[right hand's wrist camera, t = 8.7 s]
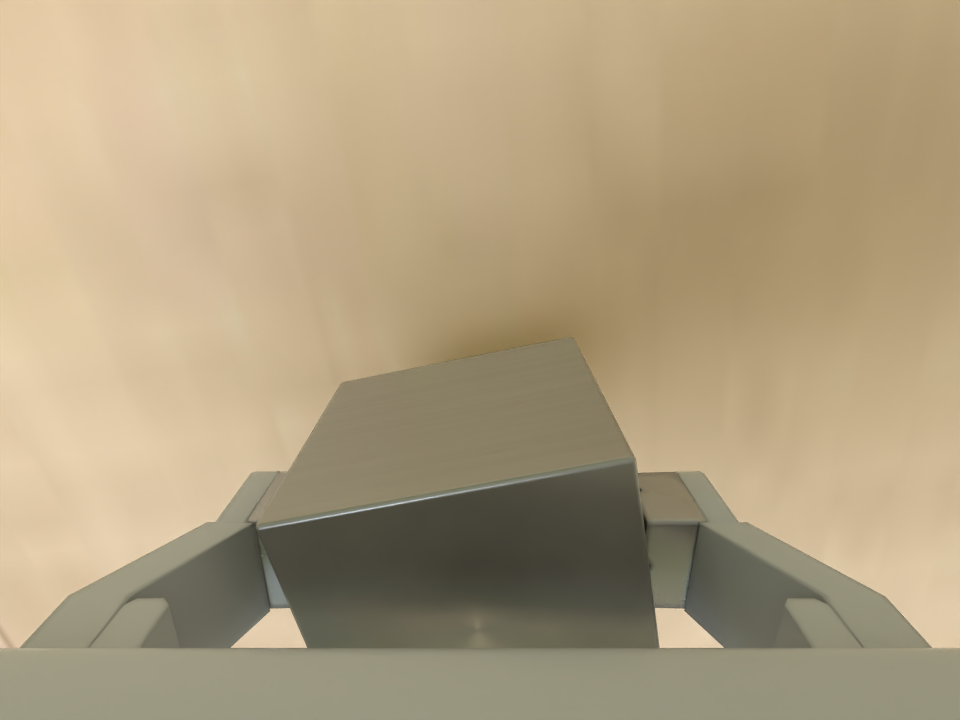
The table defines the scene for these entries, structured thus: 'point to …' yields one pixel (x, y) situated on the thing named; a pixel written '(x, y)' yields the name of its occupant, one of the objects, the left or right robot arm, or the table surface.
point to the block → (466, 512)
